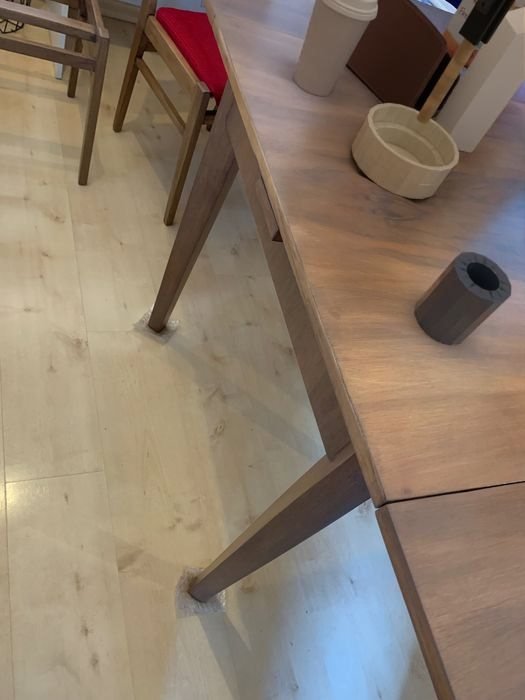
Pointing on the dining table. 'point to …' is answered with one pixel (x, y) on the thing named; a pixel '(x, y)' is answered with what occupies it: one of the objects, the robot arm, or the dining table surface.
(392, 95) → the letter holder
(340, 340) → the dining table surface
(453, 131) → the milk
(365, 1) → the coffee cup
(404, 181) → the bowl
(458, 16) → the cracker box
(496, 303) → the crock
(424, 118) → the stick
